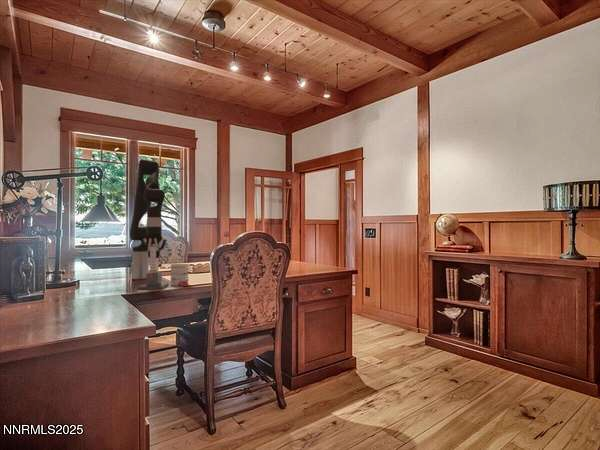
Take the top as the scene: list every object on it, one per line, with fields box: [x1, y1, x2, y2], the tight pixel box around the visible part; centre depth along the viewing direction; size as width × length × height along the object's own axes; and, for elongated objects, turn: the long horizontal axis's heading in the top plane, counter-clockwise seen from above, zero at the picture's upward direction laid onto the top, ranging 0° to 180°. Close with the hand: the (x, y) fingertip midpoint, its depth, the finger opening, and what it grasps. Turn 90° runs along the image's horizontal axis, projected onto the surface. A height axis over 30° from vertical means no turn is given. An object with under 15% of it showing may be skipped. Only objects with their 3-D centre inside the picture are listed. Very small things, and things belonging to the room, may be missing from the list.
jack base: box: [137, 271, 169, 291], centre depth 186 cm, size 12×12×8 cm
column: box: [148, 244, 159, 273], centre depth 187 cm, size 4×4×16 cm
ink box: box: [170, 263, 189, 286], centre depth 196 cm, size 9×5×12 cm, turn 84°
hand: (153, 257), depth 187 cm, fingers closed on column, 3 cm apart
